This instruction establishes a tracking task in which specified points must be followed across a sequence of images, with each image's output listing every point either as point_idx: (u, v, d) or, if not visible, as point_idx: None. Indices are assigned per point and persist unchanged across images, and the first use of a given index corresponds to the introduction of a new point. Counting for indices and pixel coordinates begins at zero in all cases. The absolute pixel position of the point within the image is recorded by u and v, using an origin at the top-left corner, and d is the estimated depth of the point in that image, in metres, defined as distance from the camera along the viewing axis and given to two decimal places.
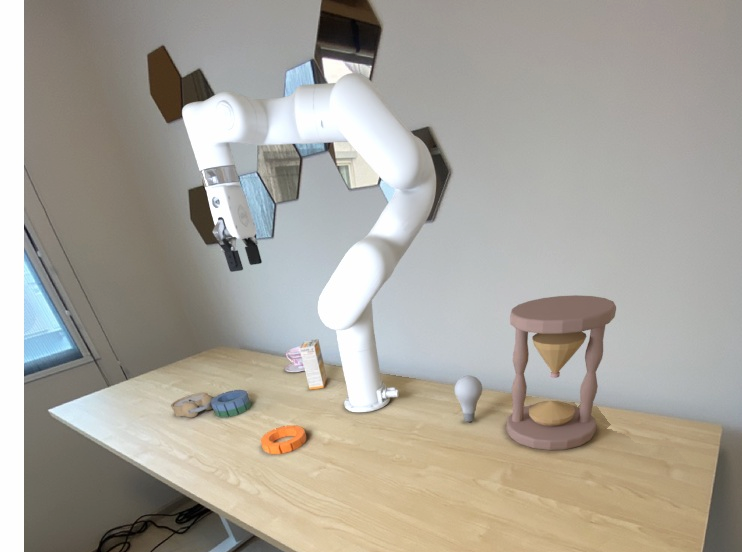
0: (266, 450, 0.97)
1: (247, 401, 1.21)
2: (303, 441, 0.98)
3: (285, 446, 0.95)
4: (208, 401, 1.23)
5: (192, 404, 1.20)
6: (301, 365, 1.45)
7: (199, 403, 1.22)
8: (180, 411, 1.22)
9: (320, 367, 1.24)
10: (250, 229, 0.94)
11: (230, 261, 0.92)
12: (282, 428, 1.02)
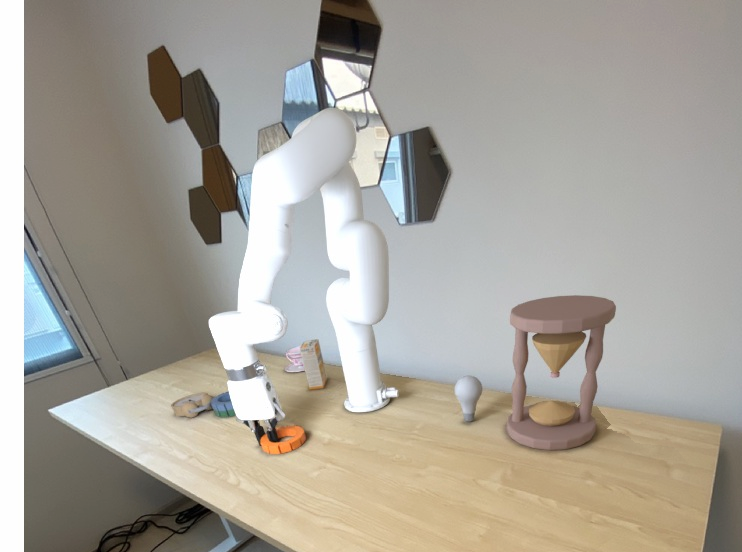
0: (265, 450, 0.97)
1: None
2: (302, 441, 0.98)
3: (284, 446, 0.95)
4: (208, 401, 1.23)
5: (192, 404, 1.20)
6: (301, 365, 1.45)
7: (199, 403, 1.22)
8: (180, 411, 1.22)
9: (320, 367, 1.24)
10: None
11: (275, 436, 0.99)
12: (282, 428, 1.02)
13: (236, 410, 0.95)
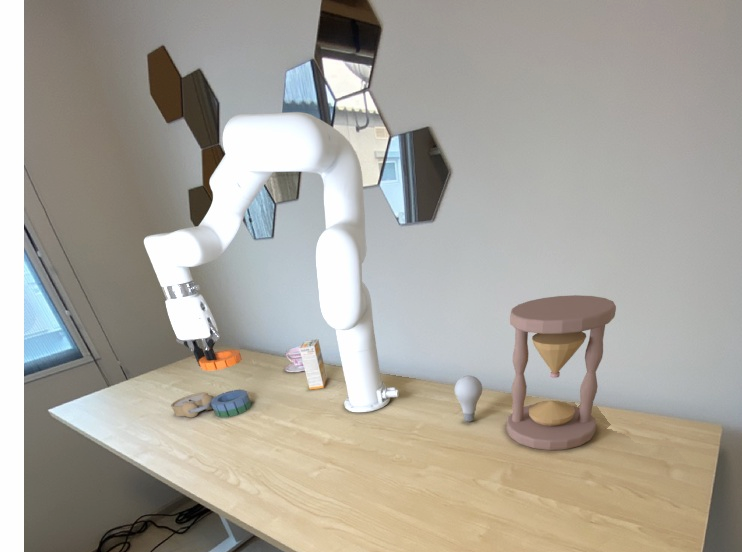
0: (203, 367, 1.07)
1: (247, 401, 1.21)
2: (237, 360, 1.08)
3: (220, 362, 1.05)
4: (208, 401, 1.23)
5: (192, 404, 1.20)
6: (301, 365, 1.45)
7: (199, 403, 1.22)
8: (180, 411, 1.22)
9: (320, 367, 1.24)
10: None
11: (213, 356, 1.09)
12: (220, 352, 1.12)
13: (175, 330, 1.05)
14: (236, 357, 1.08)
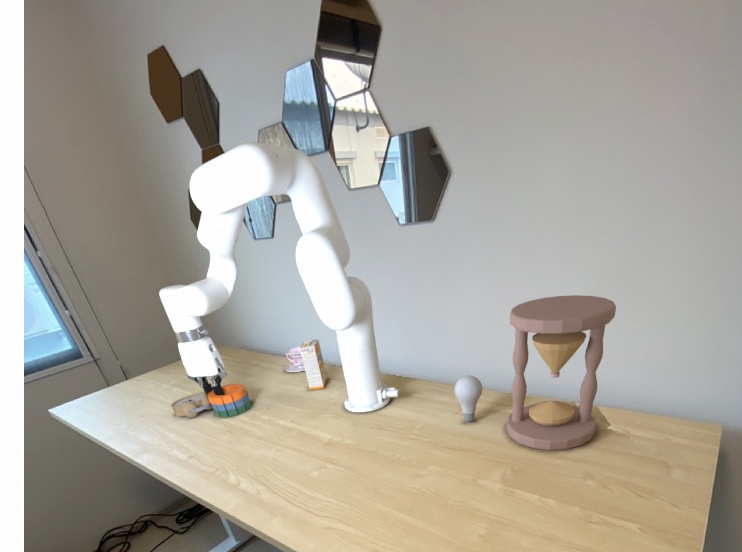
0: (211, 402, 1.17)
1: (247, 401, 1.21)
2: (242, 395, 1.19)
3: (226, 397, 1.16)
4: (208, 401, 1.23)
5: (192, 404, 1.20)
6: (301, 365, 1.45)
7: (199, 403, 1.22)
8: (180, 411, 1.22)
9: (320, 367, 1.24)
10: None
11: (220, 391, 1.20)
12: (227, 386, 1.23)
13: (186, 368, 1.16)
14: (241, 392, 1.18)
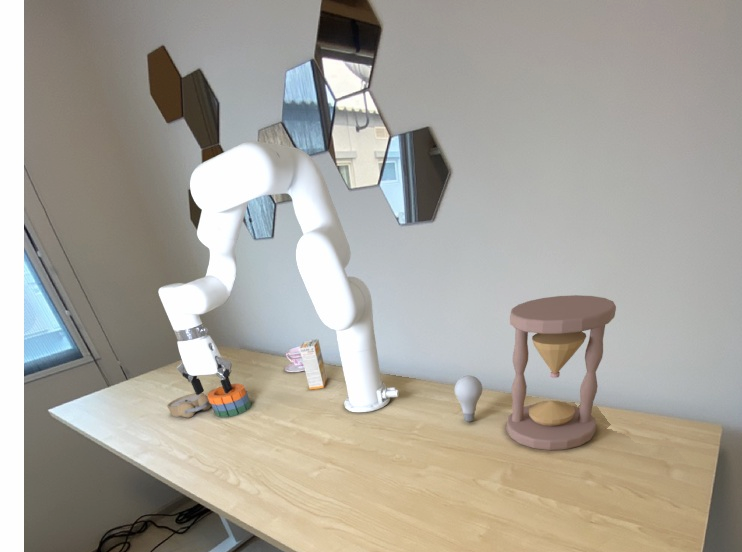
0: (211, 402, 1.17)
1: (247, 401, 1.21)
2: (242, 395, 1.19)
3: (226, 397, 1.16)
4: (204, 401, 1.23)
5: (189, 404, 1.20)
6: (301, 365, 1.45)
7: (195, 403, 1.23)
8: (176, 411, 1.22)
9: (320, 367, 1.24)
10: None
11: (228, 385, 1.18)
12: None
13: (186, 367, 1.15)
14: (241, 392, 1.18)
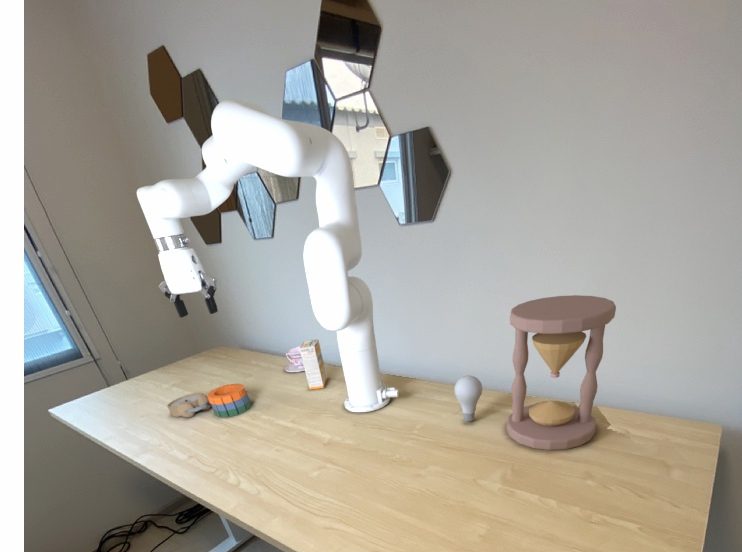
0: (211, 402, 1.17)
1: (247, 401, 1.21)
2: (242, 395, 1.19)
3: (226, 397, 1.16)
4: (205, 401, 1.23)
5: (189, 404, 1.20)
6: (301, 365, 1.45)
7: (196, 403, 1.23)
8: (177, 411, 1.22)
9: (320, 367, 1.24)
10: None
11: (213, 304, 1.11)
12: (227, 386, 1.23)
13: (168, 283, 1.08)
14: (241, 392, 1.18)
